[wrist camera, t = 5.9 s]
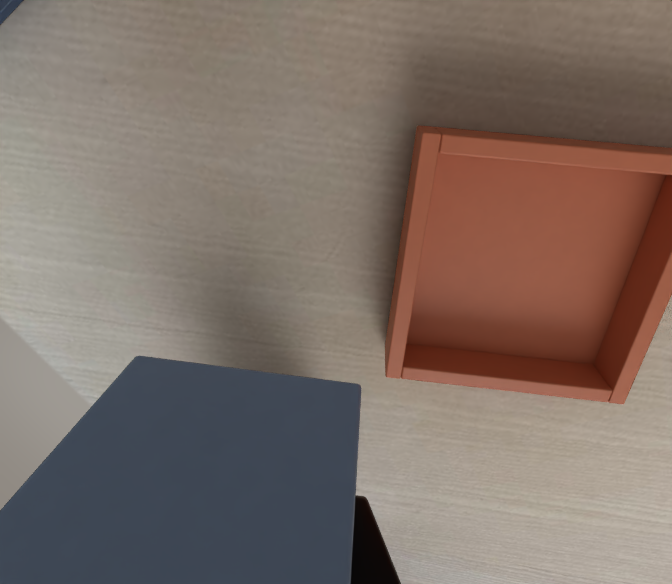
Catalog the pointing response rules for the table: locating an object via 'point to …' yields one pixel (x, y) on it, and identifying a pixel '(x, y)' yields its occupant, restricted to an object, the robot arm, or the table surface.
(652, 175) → the terracotta tray
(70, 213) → the table surface
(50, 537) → the block
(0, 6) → the slate tray
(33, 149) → the table surface
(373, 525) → the robot arm
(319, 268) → the table surface
